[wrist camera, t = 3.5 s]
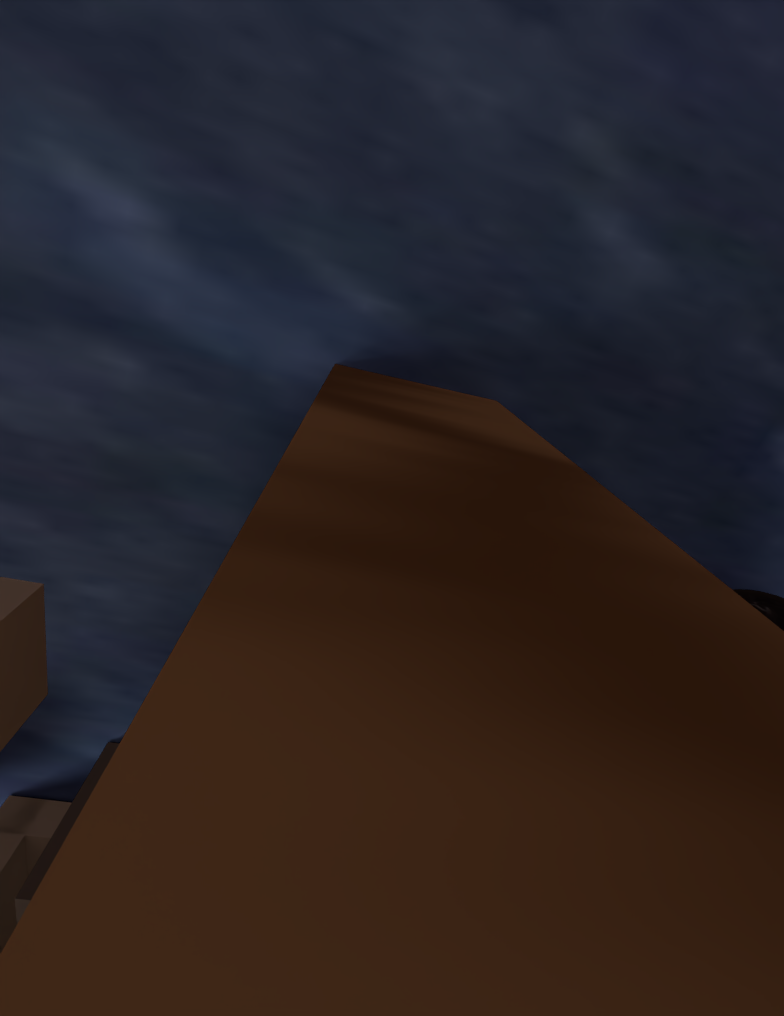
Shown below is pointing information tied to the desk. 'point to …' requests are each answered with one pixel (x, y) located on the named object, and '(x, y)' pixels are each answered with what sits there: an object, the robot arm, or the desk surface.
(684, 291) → the desk surface
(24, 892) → the cabinet
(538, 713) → the door
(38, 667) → the robot arm
